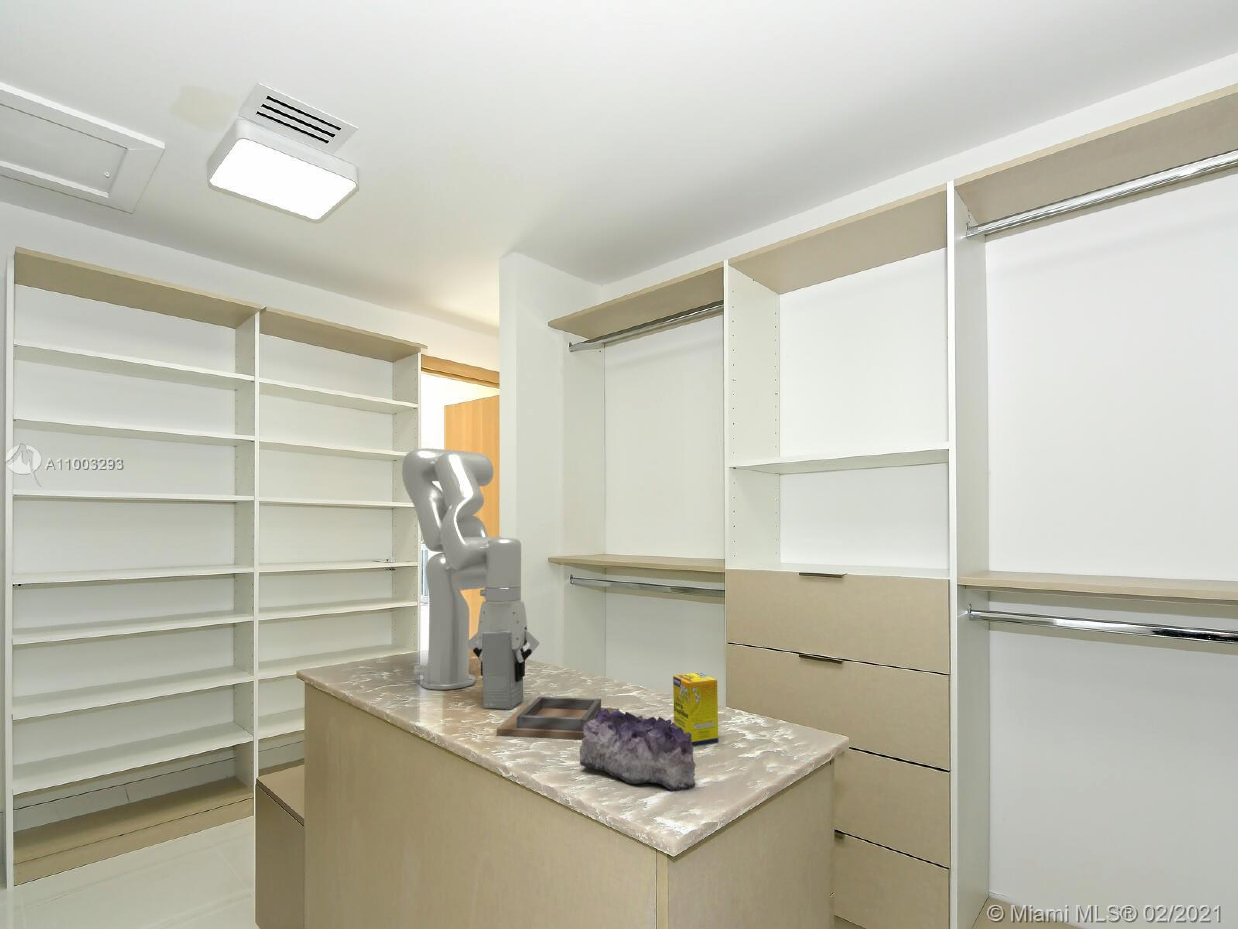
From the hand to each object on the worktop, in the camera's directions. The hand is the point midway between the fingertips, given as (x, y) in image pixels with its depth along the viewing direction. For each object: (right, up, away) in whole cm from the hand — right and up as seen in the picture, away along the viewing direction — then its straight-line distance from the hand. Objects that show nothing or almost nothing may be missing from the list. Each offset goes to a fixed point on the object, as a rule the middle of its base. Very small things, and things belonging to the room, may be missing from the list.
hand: (502, 679), depth 140 cm
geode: (+28, -2, -39) cm, 48 cm away
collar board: (+14, -4, -15) cm, 21 cm away
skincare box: (0, -5, 0) cm, 5 cm away
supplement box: (+39, -3, -24) cm, 46 cm away
